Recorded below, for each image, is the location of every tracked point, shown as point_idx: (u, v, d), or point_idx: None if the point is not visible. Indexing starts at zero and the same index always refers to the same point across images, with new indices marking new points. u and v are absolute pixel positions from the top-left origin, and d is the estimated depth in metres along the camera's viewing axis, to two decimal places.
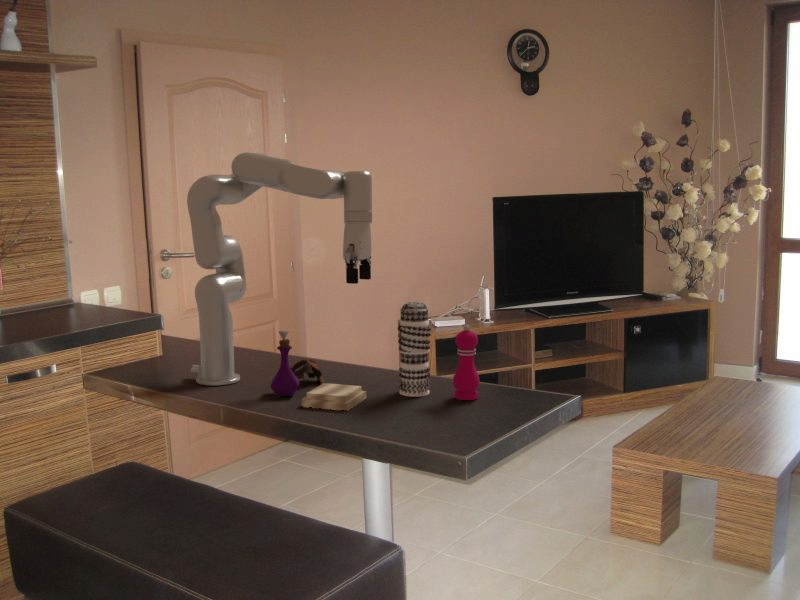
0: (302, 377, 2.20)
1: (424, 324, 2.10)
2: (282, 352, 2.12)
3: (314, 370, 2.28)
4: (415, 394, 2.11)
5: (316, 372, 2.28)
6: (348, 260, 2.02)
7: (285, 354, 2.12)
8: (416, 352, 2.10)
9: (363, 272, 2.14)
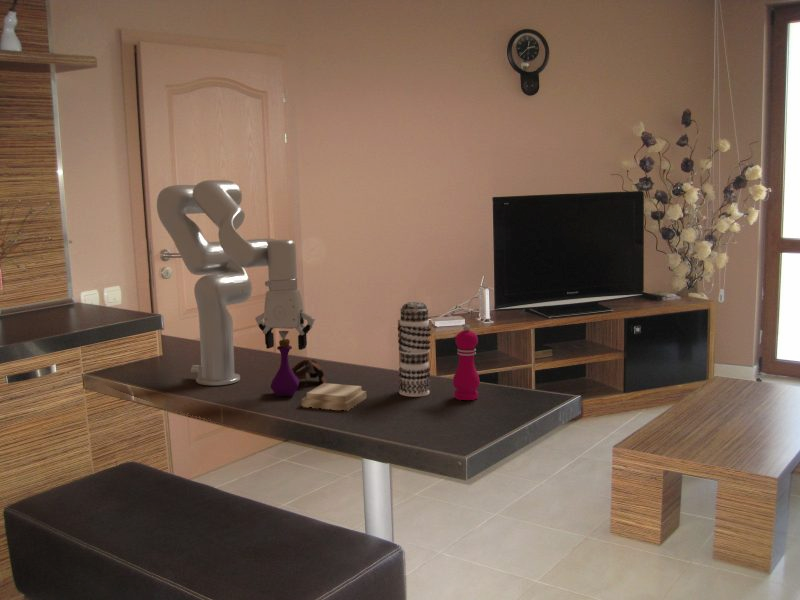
0: (304, 377, 2.20)
1: (424, 324, 2.10)
2: (282, 352, 2.12)
3: (316, 370, 2.28)
4: (415, 394, 2.11)
5: (318, 372, 2.28)
6: (311, 325, 2.08)
7: (285, 354, 2.12)
8: (416, 352, 2.10)
9: (270, 341, 2.12)
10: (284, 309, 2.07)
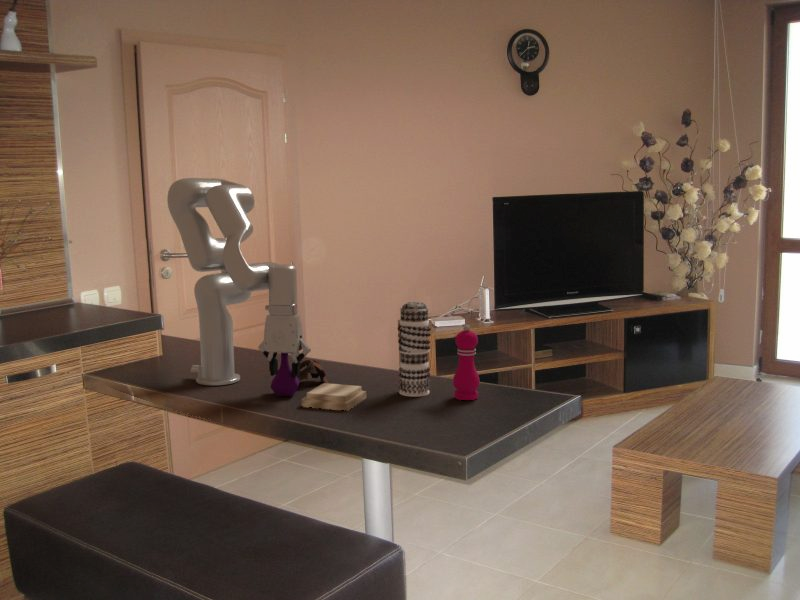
0: (306, 377, 2.20)
1: (424, 324, 2.10)
2: None
3: (317, 370, 2.28)
4: (415, 394, 2.11)
5: (319, 372, 2.27)
6: (305, 355, 2.10)
7: (285, 354, 2.12)
8: (416, 352, 2.10)
9: (274, 368, 2.13)
10: (283, 334, 2.08)
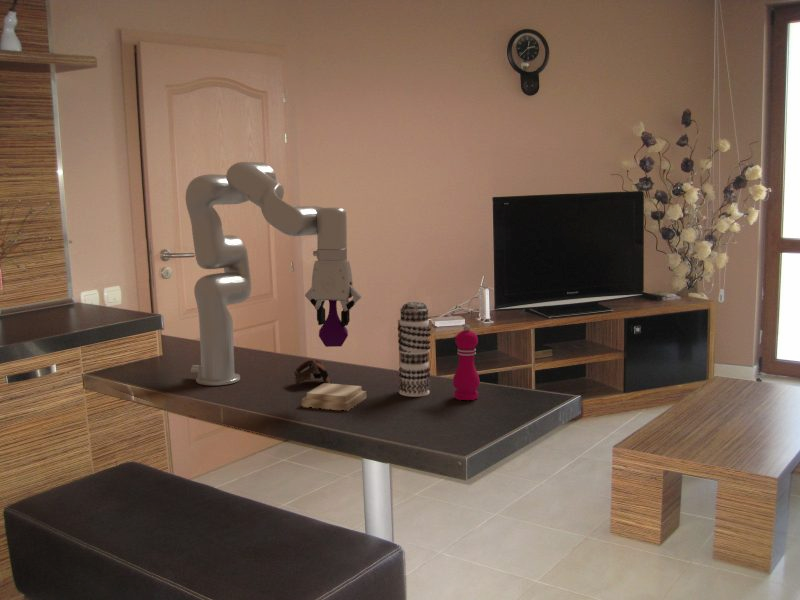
0: (309, 378, 2.19)
1: (424, 324, 2.10)
2: (330, 300, 2.02)
3: (320, 371, 2.27)
4: (415, 394, 2.11)
5: (322, 373, 2.27)
6: (355, 302, 2.00)
7: (334, 302, 2.02)
8: (416, 352, 2.10)
9: (322, 317, 2.03)
10: (333, 280, 1.98)
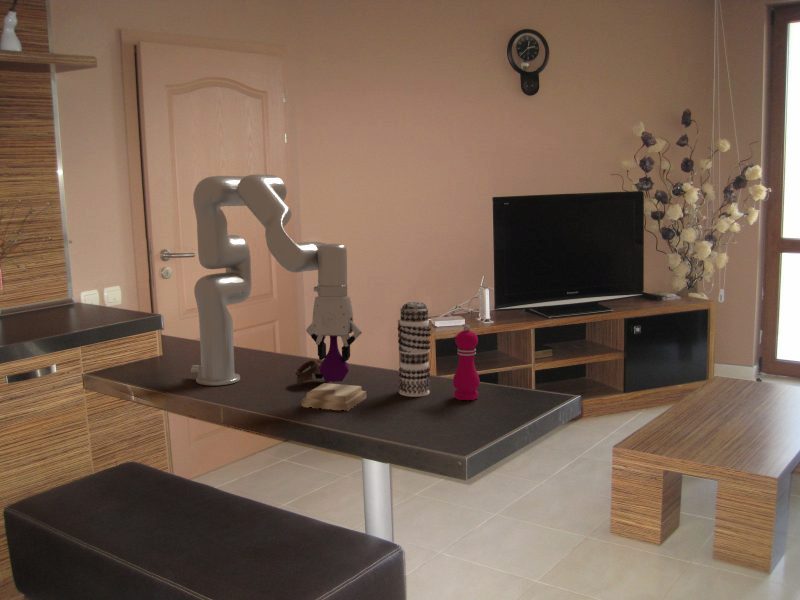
0: (310, 378, 2.19)
1: (424, 324, 2.10)
2: None
3: None
4: (415, 394, 2.11)
5: None
6: None
7: (334, 337, 2.03)
8: (416, 352, 2.10)
9: (323, 352, 2.04)
10: (333, 316, 1.99)
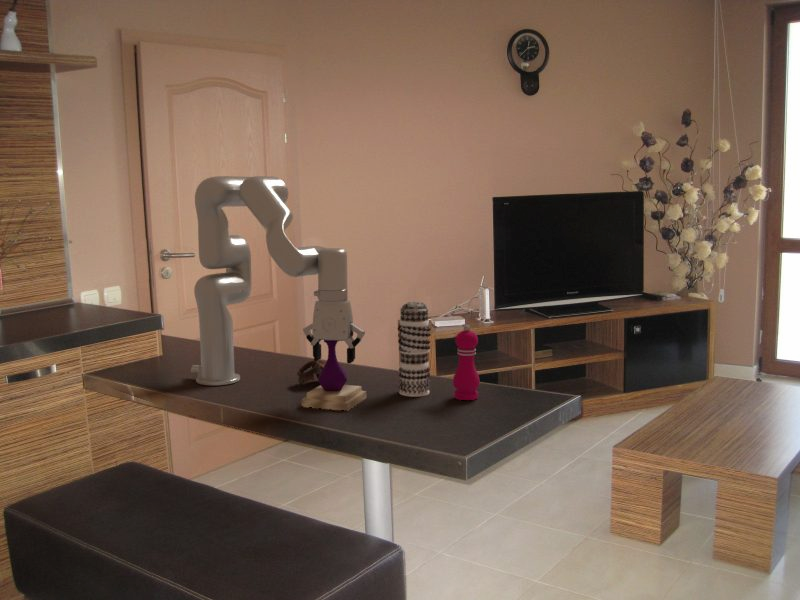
0: (312, 378, 2.19)
1: (424, 324, 2.10)
2: (329, 345, 2.04)
3: None
4: (415, 394, 2.11)
5: None
6: (361, 339, 2.01)
7: (332, 347, 2.04)
8: (416, 352, 2.10)
9: (318, 353, 2.05)
10: (334, 321, 1.99)
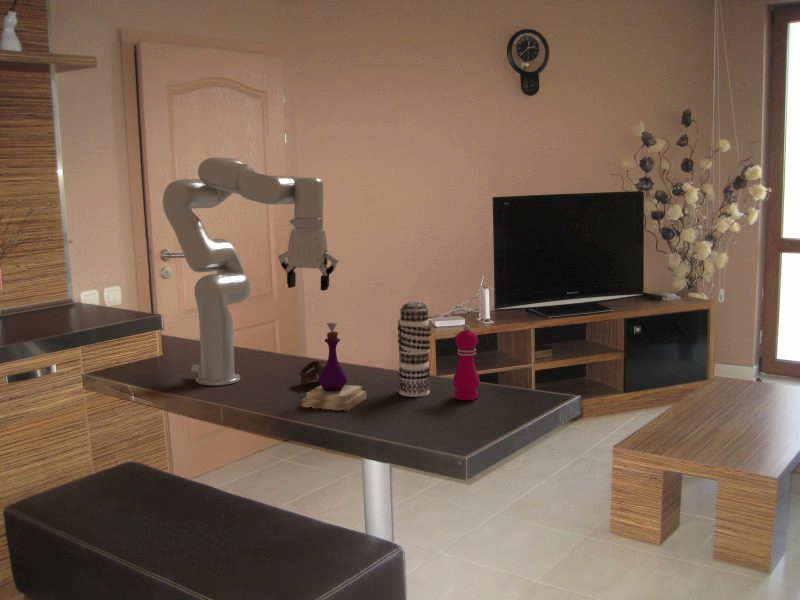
0: (315, 378, 2.18)
1: (424, 324, 2.10)
2: (330, 345, 2.04)
3: None
4: (415, 394, 2.11)
5: None
6: (335, 267, 2.05)
7: (333, 347, 2.04)
8: (416, 352, 2.10)
9: (292, 280, 2.09)
10: (308, 249, 2.04)
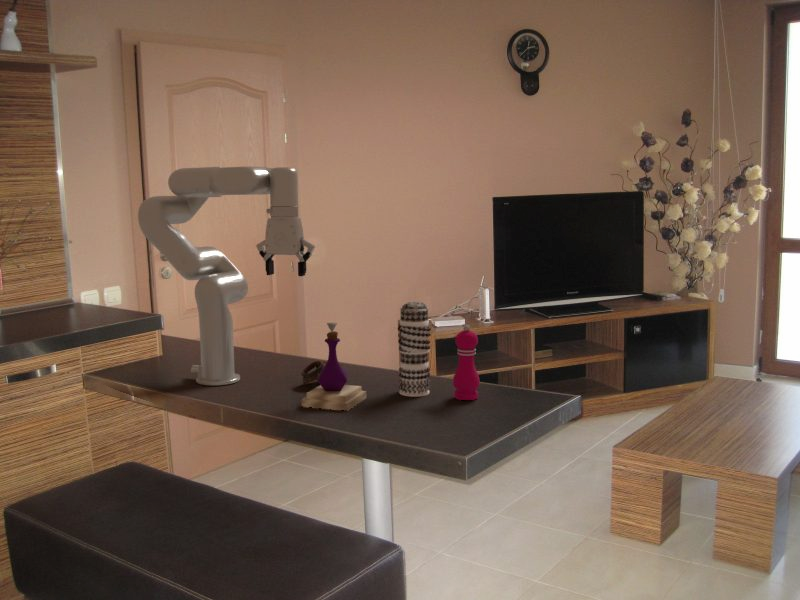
0: (317, 379, 2.18)
1: (424, 324, 2.10)
2: (330, 345, 2.04)
3: None
4: (415, 394, 2.11)
5: None
6: (311, 253, 2.12)
7: (333, 347, 2.04)
8: (416, 352, 2.10)
9: (270, 267, 2.16)
10: (284, 236, 2.10)
